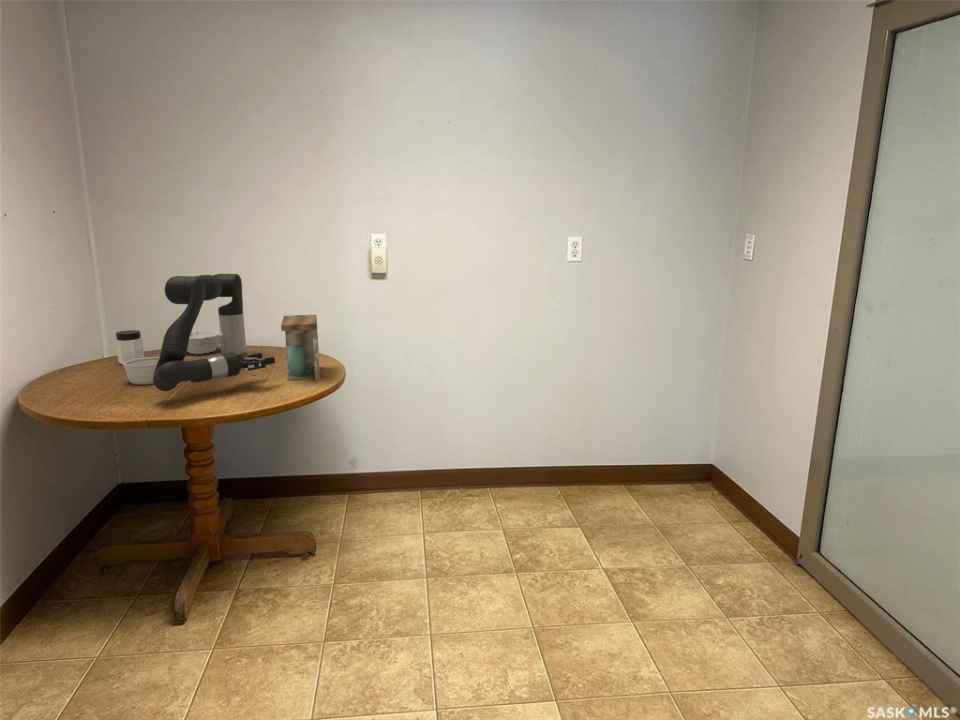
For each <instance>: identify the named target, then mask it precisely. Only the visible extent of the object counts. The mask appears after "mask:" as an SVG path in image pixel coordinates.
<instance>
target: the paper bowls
mask: <svg viewBox="0 0 960 720" xmlns="http://www.w3.org/2000/svg"><path fill="white" fill-rule="evenodd" d="M218 346H221V345H220V331H216V330H192V331H191V334H190V338H189V343H188V347H187V352H188V353H189V354H192V355H205V354H204V353H207V354H211V353H210V352H212V353H214V352H215V351H216V350H217V348H218ZM213 351H214V352H213Z"/></svg>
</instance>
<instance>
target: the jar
mask: <svg viewBox="0 0 960 720" xmlns="http://www.w3.org/2000/svg"><path fill="white" fill-rule="evenodd" d="M141 334H142V333H141V331H140V330H138V329H137V330H136V329H130V330H129V329H128V330H120V331H117V332H115V337H116V338H115V344H116V351H117V359H118V363H119V364H121V365H123V366H124V363H125V362H127V361H130V360H134V359H139V358H146V357H145V351H144V343H143V338H142V335H141Z"/></svg>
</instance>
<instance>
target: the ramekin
mask: <svg viewBox="0 0 960 720" xmlns="http://www.w3.org/2000/svg"><path fill="white" fill-rule="evenodd" d="M159 358H160V356H151V357H150V356H149V357H145V358H139V359H134V360H130V361H127V362H125V363H124V365H123V368H124V369H125V374H126V375H127V380H128V381H129V382H130V384H133V385H138V386H139V385H141V386H142V385H152V384H154V383H153V375H154V371H155V368H156V366H157V363H158V360H159Z"/></svg>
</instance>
